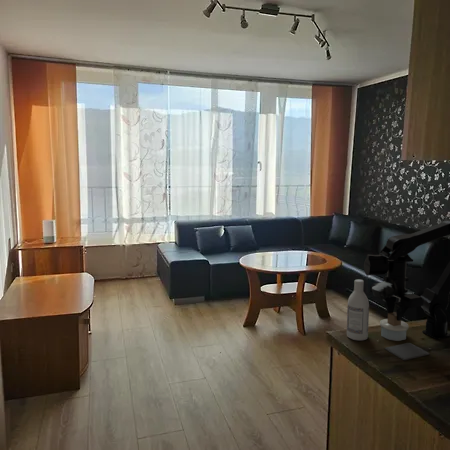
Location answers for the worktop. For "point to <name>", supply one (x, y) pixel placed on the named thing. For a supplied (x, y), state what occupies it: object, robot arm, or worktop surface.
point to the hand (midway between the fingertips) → (394, 318)
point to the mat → (406, 351)
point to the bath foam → (358, 313)
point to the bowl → (393, 334)
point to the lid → (393, 323)
